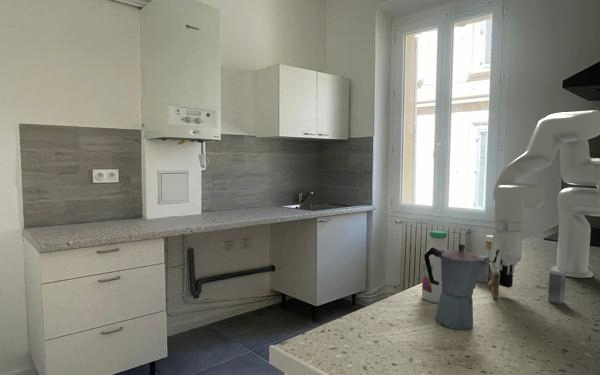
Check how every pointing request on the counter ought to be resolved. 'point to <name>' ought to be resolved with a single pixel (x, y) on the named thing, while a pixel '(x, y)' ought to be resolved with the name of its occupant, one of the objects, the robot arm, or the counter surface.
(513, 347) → the counter surface
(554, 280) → the grey rectangular blocks
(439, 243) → the milk bottle
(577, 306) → the counter surface
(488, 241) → the sprinkles bottle
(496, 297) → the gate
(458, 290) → the moka pot
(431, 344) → the counter surface
